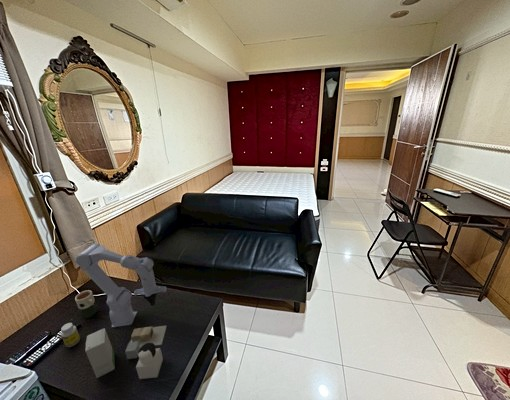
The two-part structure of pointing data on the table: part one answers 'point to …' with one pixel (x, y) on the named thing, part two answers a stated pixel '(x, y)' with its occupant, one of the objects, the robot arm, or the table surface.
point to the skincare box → (100, 352)
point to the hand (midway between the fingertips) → (153, 304)
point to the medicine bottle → (149, 361)
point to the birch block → (142, 334)
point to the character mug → (86, 303)
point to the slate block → (132, 350)
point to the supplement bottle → (70, 335)
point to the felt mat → (155, 336)
